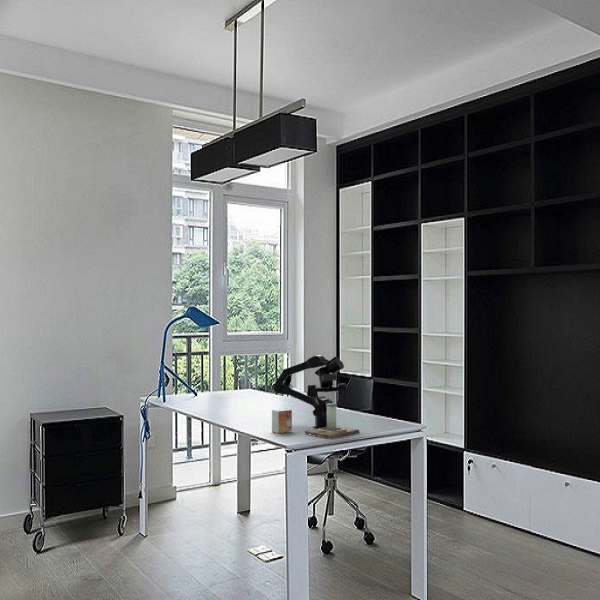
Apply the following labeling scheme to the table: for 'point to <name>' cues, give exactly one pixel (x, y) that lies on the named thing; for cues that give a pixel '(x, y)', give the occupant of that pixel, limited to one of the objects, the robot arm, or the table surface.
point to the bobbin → (331, 417)
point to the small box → (281, 420)
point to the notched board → (332, 432)
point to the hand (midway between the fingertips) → (328, 404)
